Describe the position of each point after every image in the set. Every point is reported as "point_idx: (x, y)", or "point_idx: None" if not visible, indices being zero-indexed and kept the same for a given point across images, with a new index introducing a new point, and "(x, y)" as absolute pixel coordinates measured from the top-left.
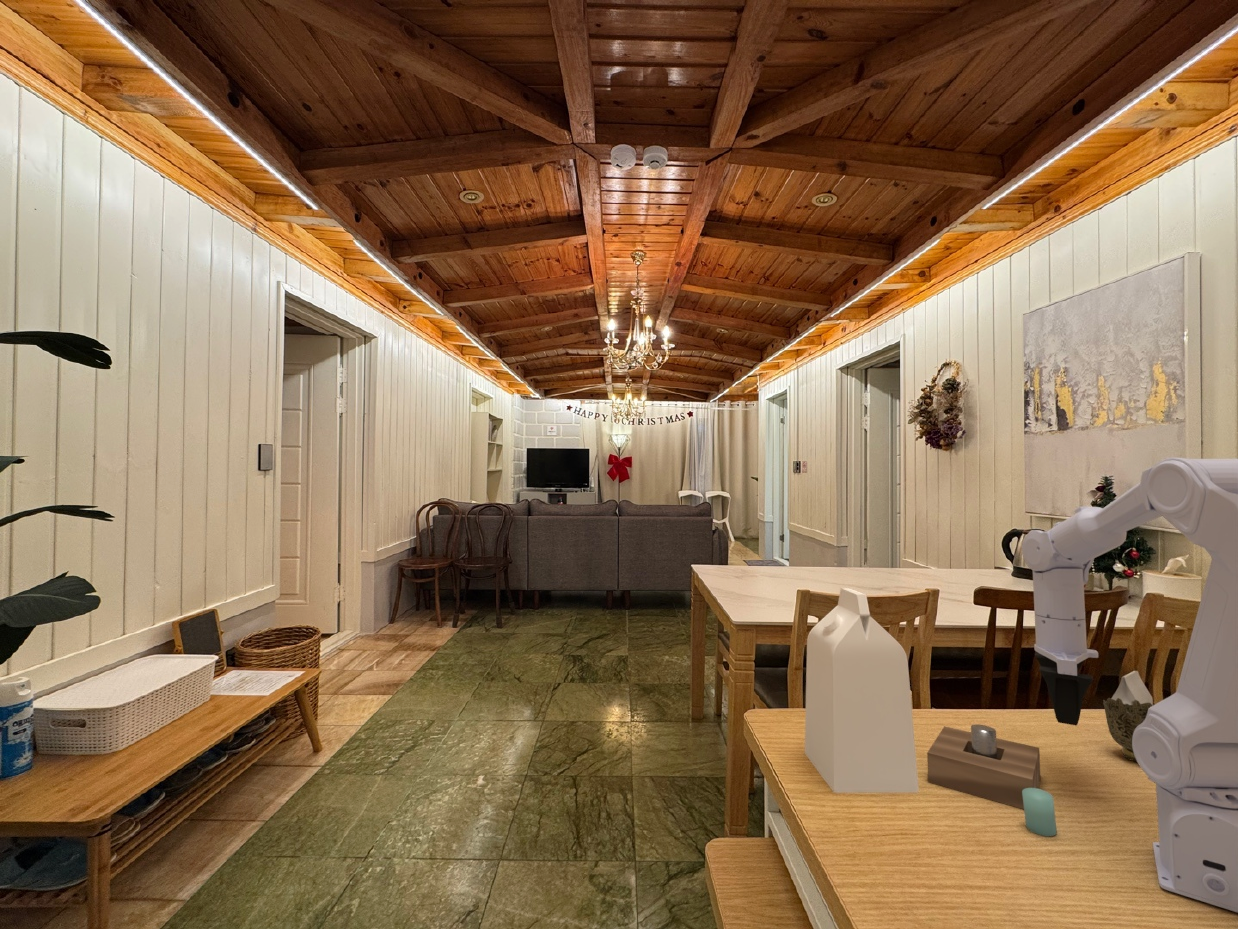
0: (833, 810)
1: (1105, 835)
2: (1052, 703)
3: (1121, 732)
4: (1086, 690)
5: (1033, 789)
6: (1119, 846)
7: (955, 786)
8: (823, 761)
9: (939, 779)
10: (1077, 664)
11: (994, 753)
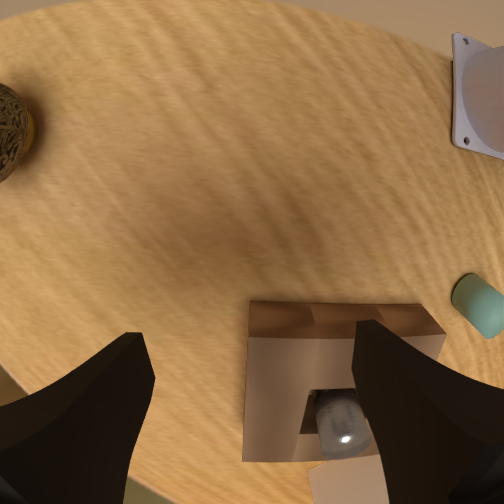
0: None
1: (448, 208)
2: (153, 381)
3: (8, 161)
4: (500, 389)
5: (487, 327)
6: (470, 193)
7: None
8: None
9: None
10: (31, 459)
11: (354, 399)
